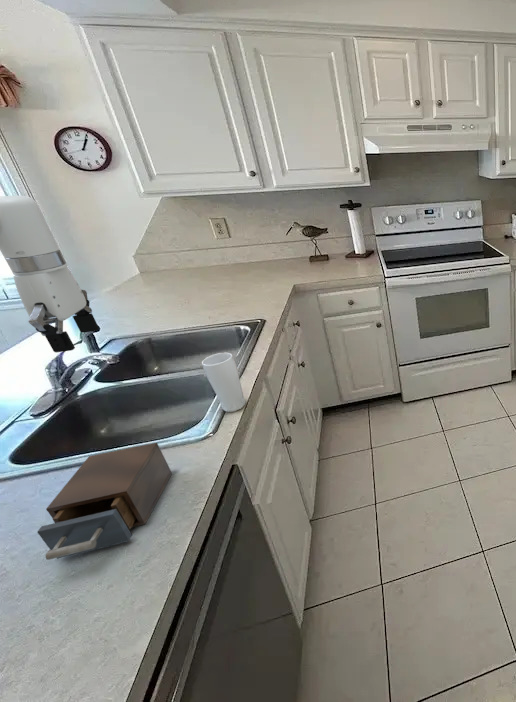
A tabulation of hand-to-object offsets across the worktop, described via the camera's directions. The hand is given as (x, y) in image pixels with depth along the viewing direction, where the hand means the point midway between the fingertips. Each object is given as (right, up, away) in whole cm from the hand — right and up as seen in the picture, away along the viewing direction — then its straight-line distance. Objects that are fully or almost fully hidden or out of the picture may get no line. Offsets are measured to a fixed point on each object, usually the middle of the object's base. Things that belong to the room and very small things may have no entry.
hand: (78, 340), depth 87 cm
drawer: (+17, -34, -12) cm, 40 cm away
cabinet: (+15, -33, -6) cm, 36 cm away
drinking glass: (+18, -19, +23) cm, 35 cm away
